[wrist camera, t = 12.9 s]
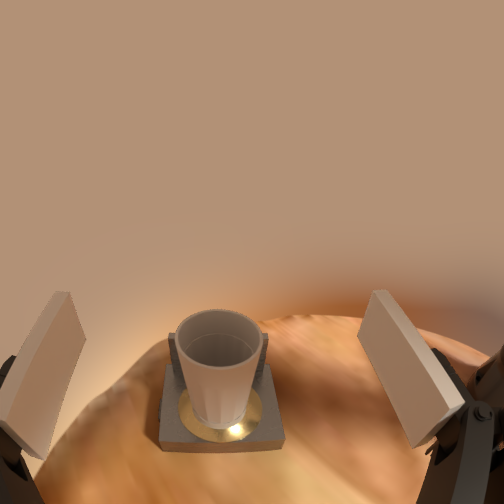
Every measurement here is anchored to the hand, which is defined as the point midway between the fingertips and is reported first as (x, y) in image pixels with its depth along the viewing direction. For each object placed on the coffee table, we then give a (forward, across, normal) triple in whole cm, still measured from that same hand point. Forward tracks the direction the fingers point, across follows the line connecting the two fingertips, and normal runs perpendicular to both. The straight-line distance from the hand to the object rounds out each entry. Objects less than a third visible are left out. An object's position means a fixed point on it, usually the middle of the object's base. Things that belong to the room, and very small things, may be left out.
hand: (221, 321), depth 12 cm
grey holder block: (+11, 0, -26) cm, 28 cm away
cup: (+10, 0, -23) cm, 25 cm away
